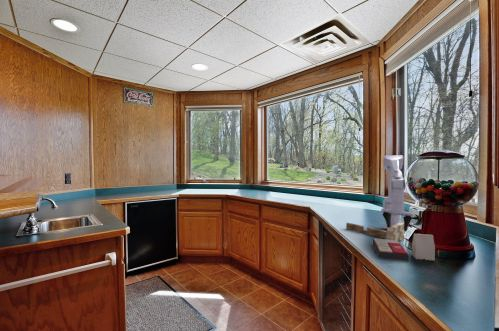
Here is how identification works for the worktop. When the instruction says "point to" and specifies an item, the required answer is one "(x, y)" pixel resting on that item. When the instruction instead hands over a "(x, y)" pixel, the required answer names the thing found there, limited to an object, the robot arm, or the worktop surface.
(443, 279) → the worktop surface
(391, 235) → the cross piece
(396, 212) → the robot arm
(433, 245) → the tea bag
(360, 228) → the walnut stand
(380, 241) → the calculator
